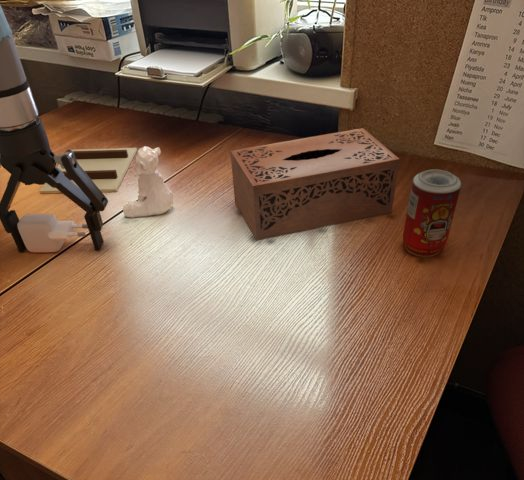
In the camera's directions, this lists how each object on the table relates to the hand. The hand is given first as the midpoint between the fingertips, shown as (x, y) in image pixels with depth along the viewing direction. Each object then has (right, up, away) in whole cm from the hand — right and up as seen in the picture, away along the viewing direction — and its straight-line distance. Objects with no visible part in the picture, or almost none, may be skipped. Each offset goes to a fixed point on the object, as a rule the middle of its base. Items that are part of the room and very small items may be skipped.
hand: (61, 246), depth 88 cm
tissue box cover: (+44, +9, +6) cm, 46 cm away
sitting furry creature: (+14, +9, +9) cm, 19 cm away
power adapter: (0, 0, 0) cm, 0 cm away
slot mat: (-2, +21, +22) cm, 30 cm away
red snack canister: (+62, -1, -4) cm, 62 cm away
